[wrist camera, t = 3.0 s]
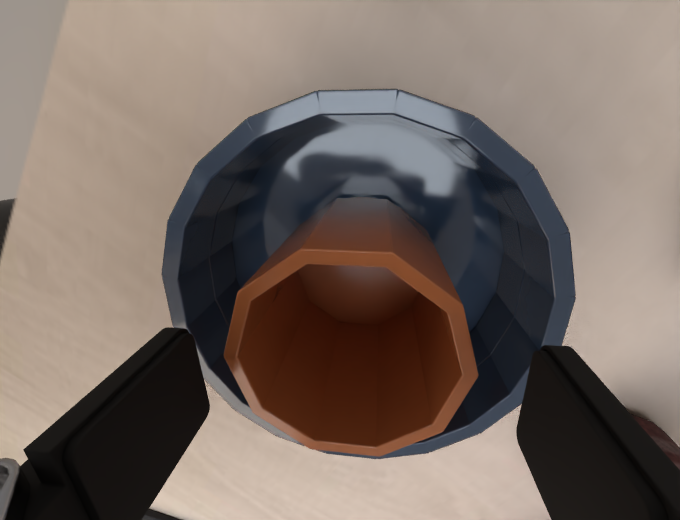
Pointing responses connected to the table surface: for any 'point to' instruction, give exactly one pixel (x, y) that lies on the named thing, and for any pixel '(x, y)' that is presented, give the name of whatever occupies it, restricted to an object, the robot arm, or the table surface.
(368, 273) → the terracotta pot
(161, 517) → the rubber mat
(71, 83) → the table surface
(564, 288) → the blue round bowl
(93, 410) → the robot arm
